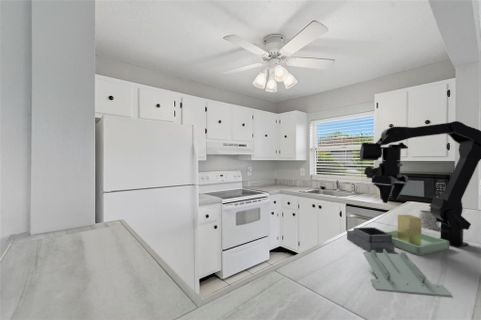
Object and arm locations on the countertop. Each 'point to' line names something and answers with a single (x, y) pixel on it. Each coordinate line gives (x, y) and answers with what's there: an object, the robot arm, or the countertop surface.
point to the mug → (428, 220)
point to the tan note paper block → (409, 229)
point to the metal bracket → (401, 275)
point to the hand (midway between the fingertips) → (389, 201)
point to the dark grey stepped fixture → (371, 239)
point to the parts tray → (426, 247)
